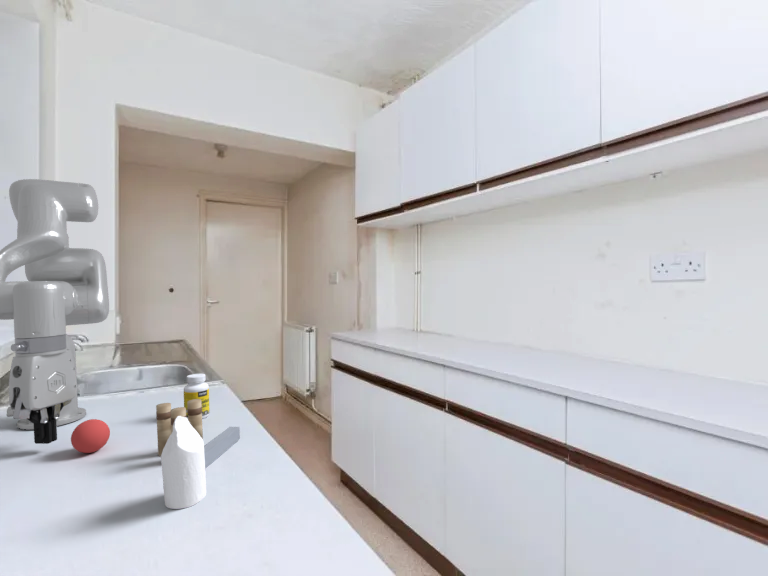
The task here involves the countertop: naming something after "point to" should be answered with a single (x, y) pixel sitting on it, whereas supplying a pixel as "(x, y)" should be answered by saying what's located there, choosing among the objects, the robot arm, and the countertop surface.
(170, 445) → the white pointed column
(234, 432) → the stopper wall
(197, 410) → the pin
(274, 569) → the countertop surface
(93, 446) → the ball
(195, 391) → the supplement bottle
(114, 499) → the countertop surface
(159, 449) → the pin front
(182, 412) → the pin
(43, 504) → the countertop surface
